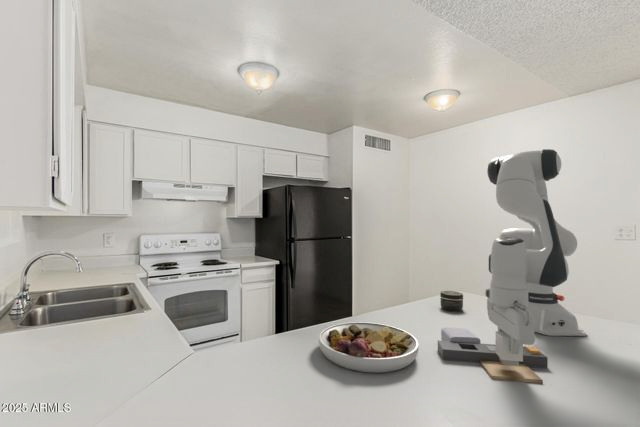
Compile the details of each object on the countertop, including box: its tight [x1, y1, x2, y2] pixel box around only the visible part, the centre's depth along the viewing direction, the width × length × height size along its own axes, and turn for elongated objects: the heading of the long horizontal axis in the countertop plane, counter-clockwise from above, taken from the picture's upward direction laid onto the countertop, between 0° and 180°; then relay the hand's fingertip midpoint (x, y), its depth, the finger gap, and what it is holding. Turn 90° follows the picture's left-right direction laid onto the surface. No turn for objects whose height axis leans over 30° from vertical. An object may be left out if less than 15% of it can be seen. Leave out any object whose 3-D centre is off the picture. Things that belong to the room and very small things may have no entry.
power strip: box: [437, 340, 548, 369], centre depth 93 cm, size 28×7×4 cm, turn 81°
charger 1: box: [440, 327, 481, 344], centre depth 105 cm, size 5×9×15 cm
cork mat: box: [479, 361, 544, 384], centre depth 84 cm, size 12×9×1 cm
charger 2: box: [495, 330, 524, 366], centre depth 84 cm, size 5×4×8 cm
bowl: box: [318, 321, 420, 374], centre depth 95 cm, size 30×30×8 cm
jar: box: [439, 290, 464, 312], centre depth 147 cm, size 10×10×8 cm
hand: (508, 348), depth 84 cm, fingers closed on charger 2, 4 cm apart
